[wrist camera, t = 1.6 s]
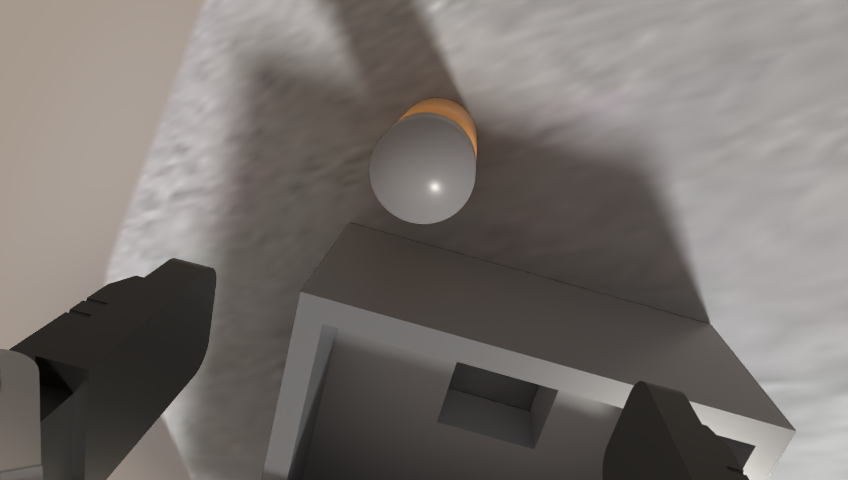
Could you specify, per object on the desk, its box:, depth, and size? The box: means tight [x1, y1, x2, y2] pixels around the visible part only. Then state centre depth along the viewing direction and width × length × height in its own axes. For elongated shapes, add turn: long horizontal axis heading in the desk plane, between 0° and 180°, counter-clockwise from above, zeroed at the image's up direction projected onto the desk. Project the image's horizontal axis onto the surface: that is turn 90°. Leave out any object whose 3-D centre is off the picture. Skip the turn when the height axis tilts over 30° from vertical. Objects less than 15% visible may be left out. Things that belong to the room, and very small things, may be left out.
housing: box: [261, 223, 796, 480], centre depth 27 cm, size 16×18×8 cm
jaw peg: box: [369, 98, 477, 224], centre depth 23 cm, size 4×4×7 cm
